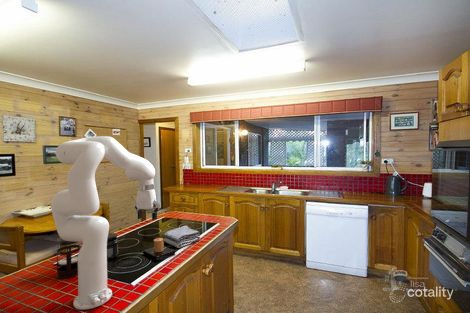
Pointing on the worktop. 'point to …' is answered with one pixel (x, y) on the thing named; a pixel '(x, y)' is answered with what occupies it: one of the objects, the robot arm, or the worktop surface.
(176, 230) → the towel
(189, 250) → the worktop surface
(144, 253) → the panel
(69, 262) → the french press
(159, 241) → the oak knob
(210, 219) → the worktop surface
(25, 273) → the worktop surface
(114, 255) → the supplement container
